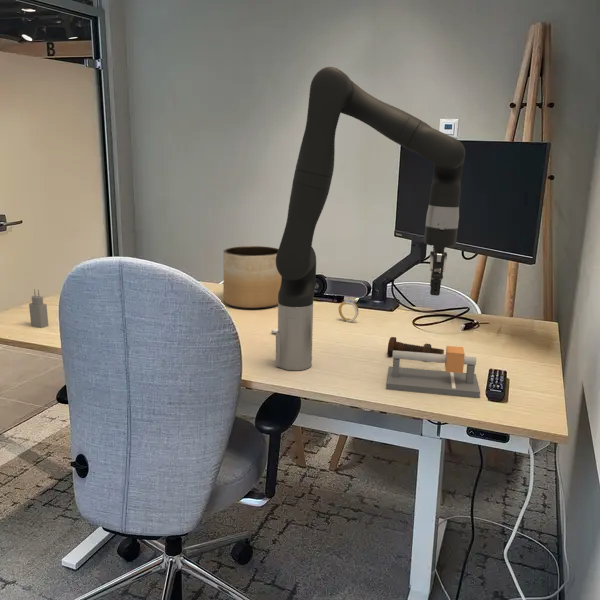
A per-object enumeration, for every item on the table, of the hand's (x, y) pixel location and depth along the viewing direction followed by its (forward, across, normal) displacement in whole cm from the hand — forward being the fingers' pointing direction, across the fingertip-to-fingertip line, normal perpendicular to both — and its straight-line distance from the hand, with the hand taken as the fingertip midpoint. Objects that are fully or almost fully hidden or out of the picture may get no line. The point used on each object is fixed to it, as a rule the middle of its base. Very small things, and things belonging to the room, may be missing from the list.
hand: (434, 291), depth 143 cm
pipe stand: (+23, +3, +2) cm, 23 cm away
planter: (+25, -62, -64) cm, 93 cm away
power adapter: (+27, -15, -122) cm, 125 cm away
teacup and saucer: (+25, -30, -47) cm, 62 cm away
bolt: (+24, -15, -3) cm, 28 cm away
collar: (+18, +3, +6) cm, 20 cm away
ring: (+24, -46, -26) cm, 58 cm away
